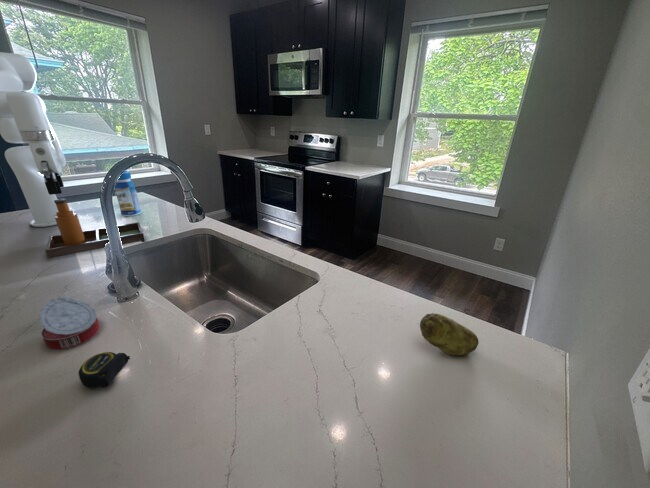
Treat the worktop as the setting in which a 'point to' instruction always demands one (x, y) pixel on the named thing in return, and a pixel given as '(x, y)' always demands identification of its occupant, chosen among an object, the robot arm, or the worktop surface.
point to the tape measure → (102, 369)
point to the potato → (448, 334)
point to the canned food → (67, 323)
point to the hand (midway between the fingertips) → (57, 190)
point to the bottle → (68, 224)
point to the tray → (93, 240)
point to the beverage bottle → (127, 195)
